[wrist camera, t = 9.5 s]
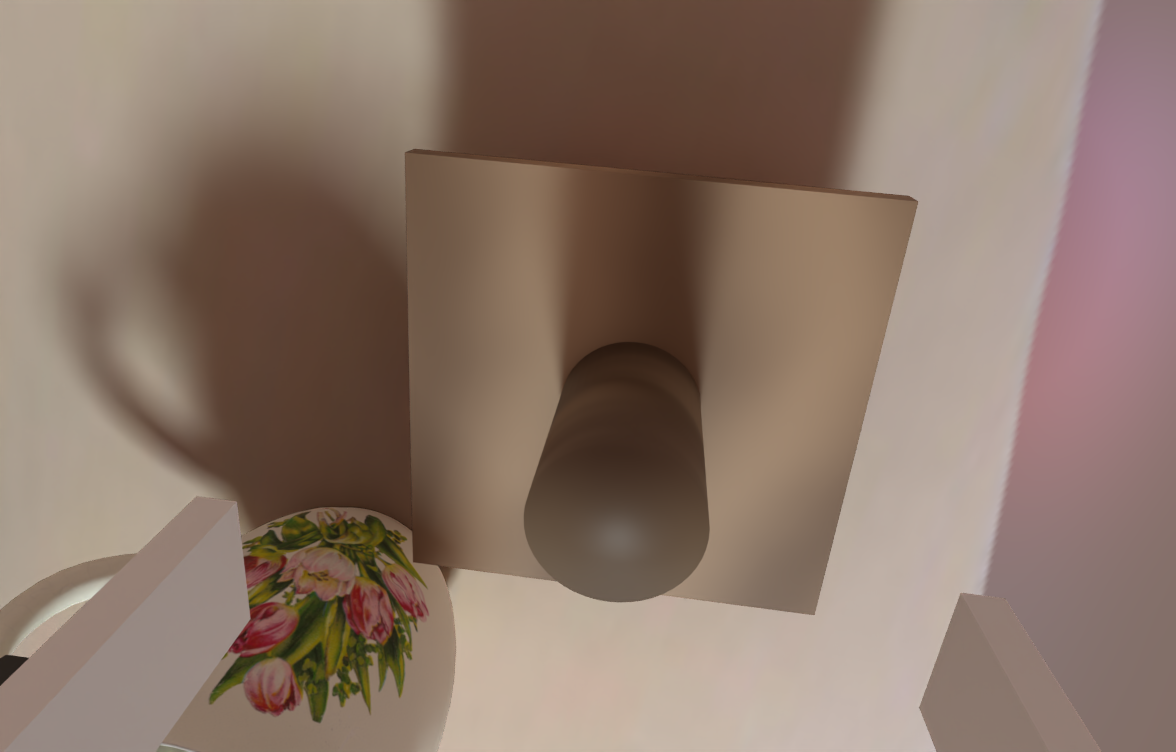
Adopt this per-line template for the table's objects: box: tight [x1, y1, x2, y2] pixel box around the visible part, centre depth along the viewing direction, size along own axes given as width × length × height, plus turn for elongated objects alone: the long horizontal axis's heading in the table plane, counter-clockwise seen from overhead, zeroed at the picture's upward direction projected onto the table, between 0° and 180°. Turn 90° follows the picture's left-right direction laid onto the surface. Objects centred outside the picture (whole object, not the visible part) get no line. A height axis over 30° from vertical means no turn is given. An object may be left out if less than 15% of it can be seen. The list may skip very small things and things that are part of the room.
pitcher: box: [0, 507, 456, 752], centre depth 26 cm, size 11×18×14 cm, turn 72°
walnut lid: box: [405, 149, 918, 615], centre depth 19 cm, size 13×13×7 cm
